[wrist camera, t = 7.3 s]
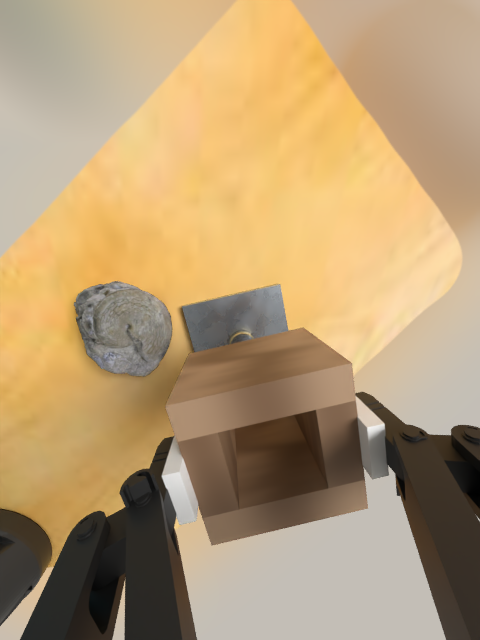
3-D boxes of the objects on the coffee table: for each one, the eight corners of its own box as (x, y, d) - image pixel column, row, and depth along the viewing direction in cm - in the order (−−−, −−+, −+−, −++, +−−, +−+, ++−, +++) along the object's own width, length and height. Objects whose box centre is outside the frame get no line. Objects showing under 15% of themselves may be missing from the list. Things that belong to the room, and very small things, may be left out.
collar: (217, 450, 17) (211, 545, 11) (189, 353, 15) (165, 406, 9) (318, 426, 17) (367, 508, 11) (303, 327, 15) (351, 363, 9)
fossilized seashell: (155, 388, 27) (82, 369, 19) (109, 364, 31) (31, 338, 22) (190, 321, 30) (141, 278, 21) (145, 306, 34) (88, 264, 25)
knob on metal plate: (207, 391, 30) (197, 458, 19) (183, 305, 27) (156, 327, 16) (293, 371, 30) (332, 426, 19) (278, 283, 27) (312, 291, 17)
